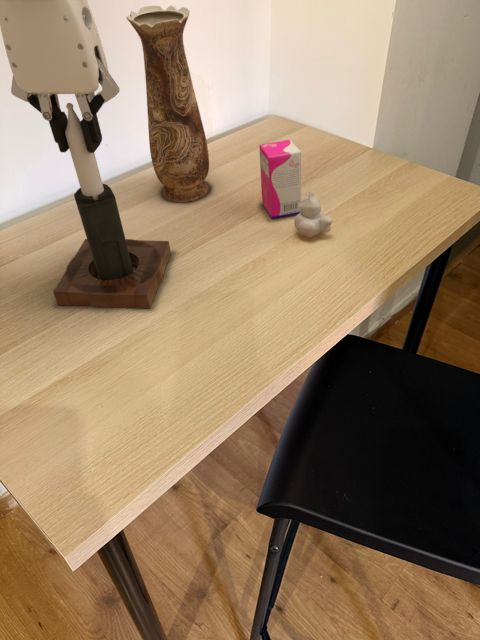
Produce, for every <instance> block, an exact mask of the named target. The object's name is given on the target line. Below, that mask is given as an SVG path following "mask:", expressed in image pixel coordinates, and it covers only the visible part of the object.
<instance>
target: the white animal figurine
mask: <svg viewBox="0 0 480 640" xmlns="http://www.w3.org/2000/svg"><path fill="white" fill-rule="evenodd" d="M299 207H300V208H301V209H300V211H301V212H300V213H299V214H298V215H295V217H294V219H293V223H294V228H295V229H296V231H297V232H298V234H299V235H301V236H304V237H307V238H312V237H315V236H317V235H319V234H320V233H321V232H322V233H329V232H331V230H332V228H331V225H332V223H333V220H334V219H333V217H332V216H330V215H327V214H325V215H324V212H323V211H322V203H321V200H320V199H319V198H318V196H317V195H316V194H315V193H314V192H313V193H311V190H310V189H309V190H308V195H306V197H304V199H303V201H301V204H300V205H299Z"/></svg>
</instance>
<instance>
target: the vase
mask: <svg viewBox="0 0 480 640" xmlns="http://www.w3.org/2000/svg"><path fill="white" fill-rule="evenodd" d="M189 16H190V10H189V8H188V7H184V6H182V7H180V8H179V9H177V8H176V6H174V5H169V6H167V7H166V8H165V9H163V7H162V6H161V5H146V6H143V7H140V8H139V10H138V13H137V12H135V11H130V14H129V15H127V16H125V17H126V20H127V21H128V22H129V24H130V25H131V26H132V28H133V29H134V31H135V32H136V33H137V36H138V37H139V40H140V43H141V46H142V53H143V63H144V65H143V67H144V74H145V76H144V77H145V92H146V106H147V112H146V113H147V127H148V128H147V129H148V143H149V153H150V159H151V163H152V168H153V171H154V173H155V176H156V178H157V180H158V181H159V182H160V183H161V184H162V185H163V188H162V195H163V197H164V198H165V199H166V200H169V201H171V202H174V203H175V202H176V203H188V202H192V201H196V200H198V199H200V198H202V197H204V196H205V195H206V194H207V193H208V191H209V186H208V184H207V182H206V181H205V180H206V179H207V177H208V175H209V172H210V155H209V147H208V142H207V141H208V140H207V137H206V133H205V132H206V131H205V129H204V123H203V121H202V115H201V112H200V109H199V104H198V100H197V97H196V91H195V88H194V84H193V80H192V76H191V71H190V67H189V63H188V60H187V59H188V58H187V55H186V51H185V50H186V49H185V44H184V31H185V27H186V25H187V21H188V19H189Z"/></svg>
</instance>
